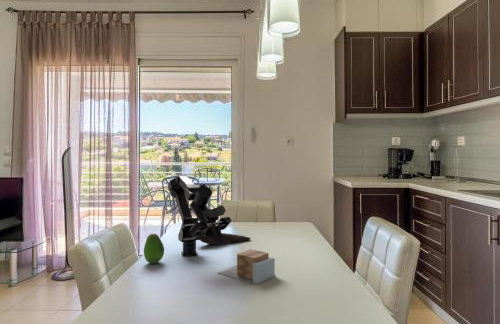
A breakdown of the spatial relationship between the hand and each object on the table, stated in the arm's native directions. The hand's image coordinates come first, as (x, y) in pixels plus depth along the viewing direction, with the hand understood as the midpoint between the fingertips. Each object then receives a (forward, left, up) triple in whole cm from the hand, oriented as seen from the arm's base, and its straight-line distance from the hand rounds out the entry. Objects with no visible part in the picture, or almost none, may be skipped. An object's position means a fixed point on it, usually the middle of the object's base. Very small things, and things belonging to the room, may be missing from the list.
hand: (222, 243), depth 136 cm
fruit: (-13, -25, -9) cm, 30 cm away
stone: (-37, +8, -10) cm, 40 cm away
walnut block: (+12, +9, -9) cm, 18 cm away
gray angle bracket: (+10, +7, -9) cm, 15 cm away
